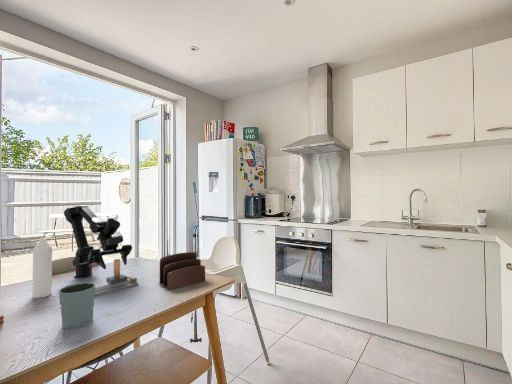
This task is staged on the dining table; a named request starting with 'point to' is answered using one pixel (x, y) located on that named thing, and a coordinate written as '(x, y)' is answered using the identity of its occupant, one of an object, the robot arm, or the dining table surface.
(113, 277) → the carriage
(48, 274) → the water bottle
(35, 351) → the dining table surface
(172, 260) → the letter holder
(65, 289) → the green planter pot
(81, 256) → the robot arm
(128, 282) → the rail
